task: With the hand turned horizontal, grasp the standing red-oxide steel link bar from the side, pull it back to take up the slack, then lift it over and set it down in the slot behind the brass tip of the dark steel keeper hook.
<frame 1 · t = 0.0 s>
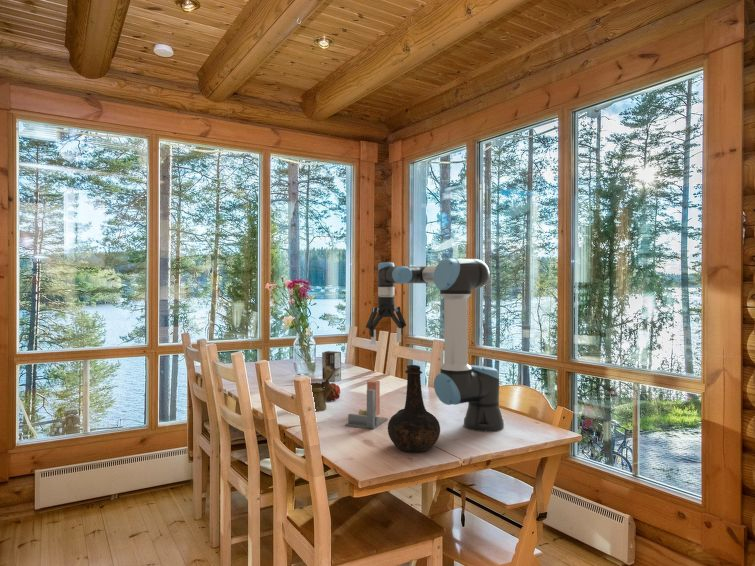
hand: (386, 343, 236), 28 cm above the table, tool pointing down, fingers open, 13 cm apart
link bar: (373, 414, 220), on the table
keeper: (366, 422, 207), on the table
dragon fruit: (331, 399, 247), on the table
coffee box: (331, 380, 294), on the table
glass bottle: (413, 448, 176), on the table
brass mortar and pestle: (320, 409, 229), on the table
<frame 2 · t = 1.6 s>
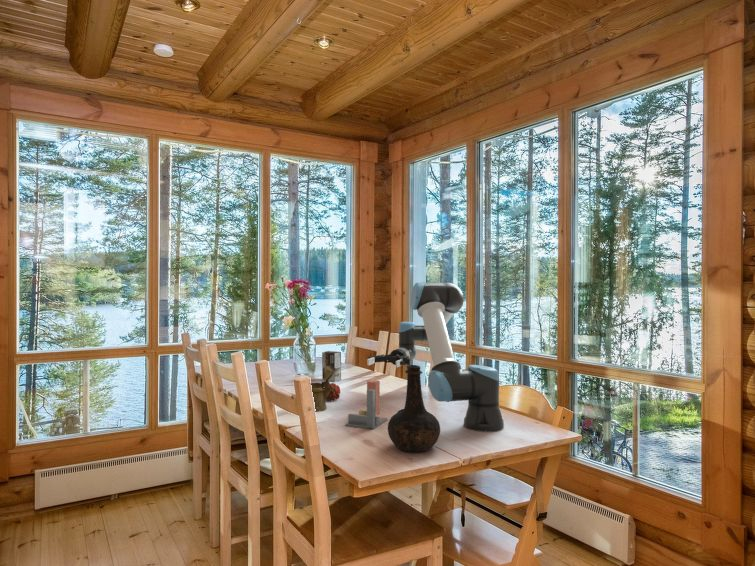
hand: (382, 363, 229), 20 cm above the table, tool horizontal, fingers open, 13 cm apart
nothing on the table moved.
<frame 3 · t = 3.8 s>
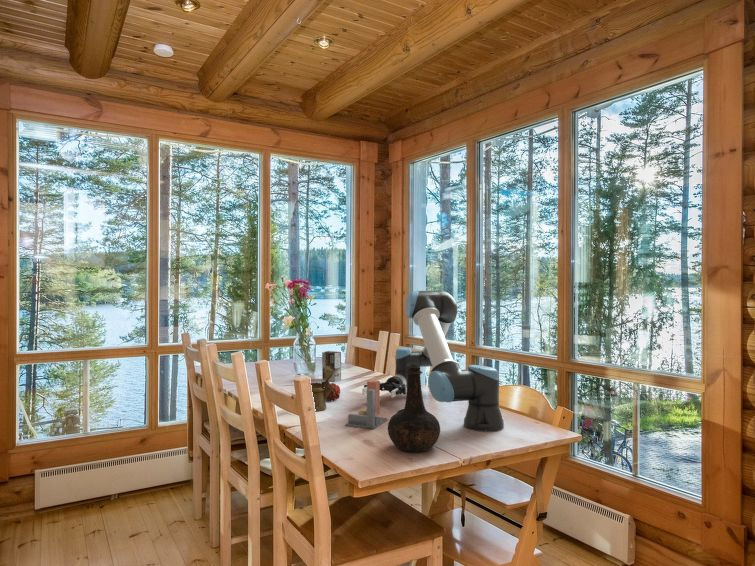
hand: (377, 393, 225), 8 cm above the table, tool horizontal, fingers open, 13 cm apart
nothing on the table moved.
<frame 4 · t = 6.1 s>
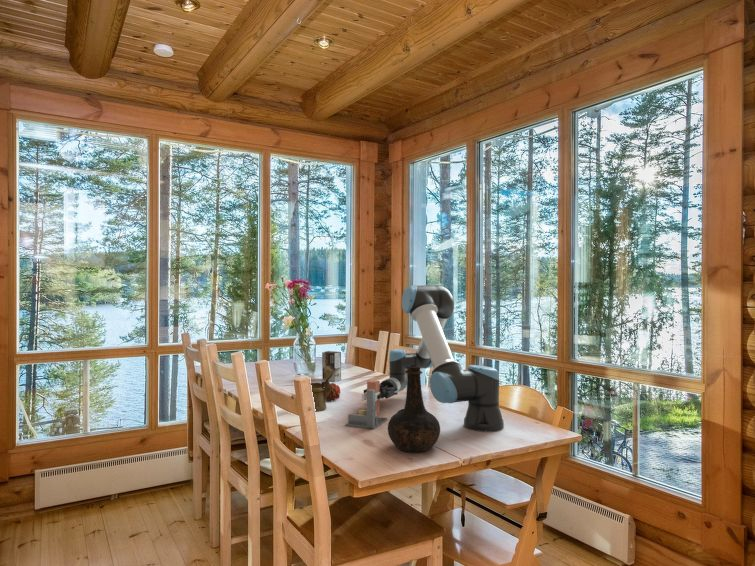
hand: (368, 398, 215), 8 cm above the table, tool horizontal, fingers closed on link bar, 4 cm apart
link bar: (373, 414, 220), on the table, touching gripper
everything else where it was.
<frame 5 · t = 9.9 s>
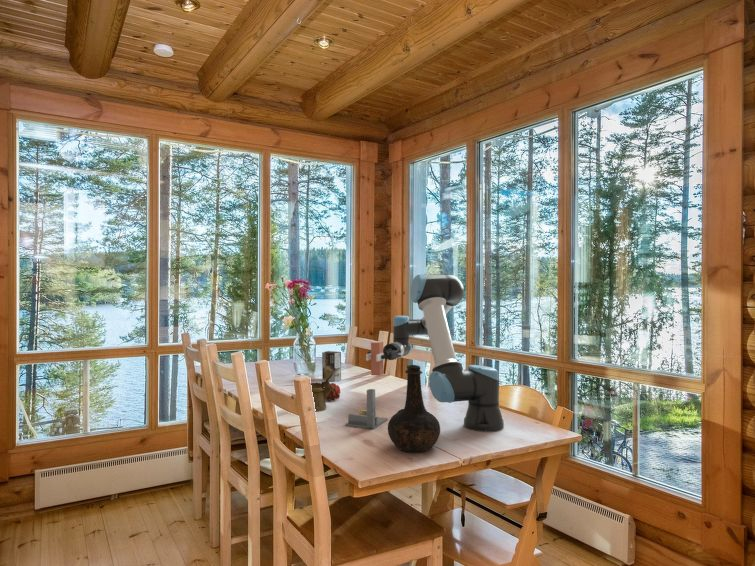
hand: (371, 357, 220), 24 cm above the table, tool horizontal, fingers closed on link bar, 4 cm apart
link bar: (377, 374, 225), point 16 cm above the table, touching gripper
everything else where it was.
when the fingers open (10 cm above the table, at t = 13.9 s): link bar drops 1 cm, resting on keeper.
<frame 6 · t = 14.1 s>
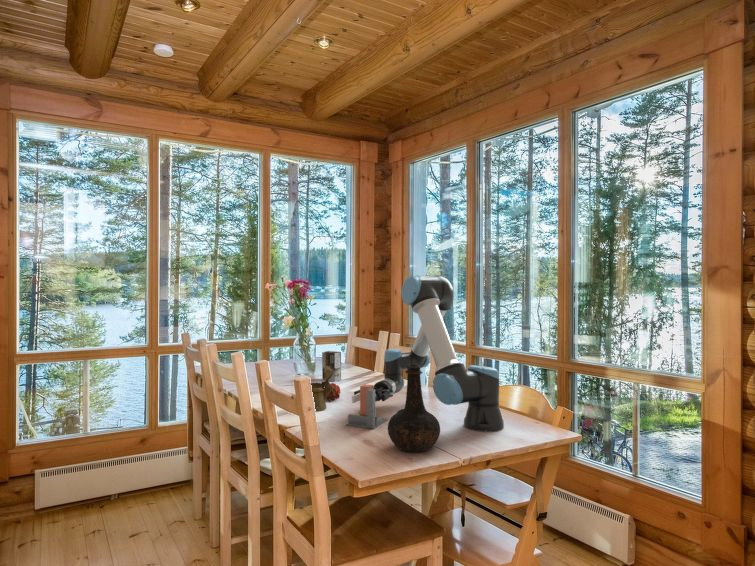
hand: (360, 400, 202), 10 cm above the table, tool horizontal, fingers open, 6 cm apart
link bar: (366, 420, 207), point 1 cm above the table, touching keeper
everything else where it was.
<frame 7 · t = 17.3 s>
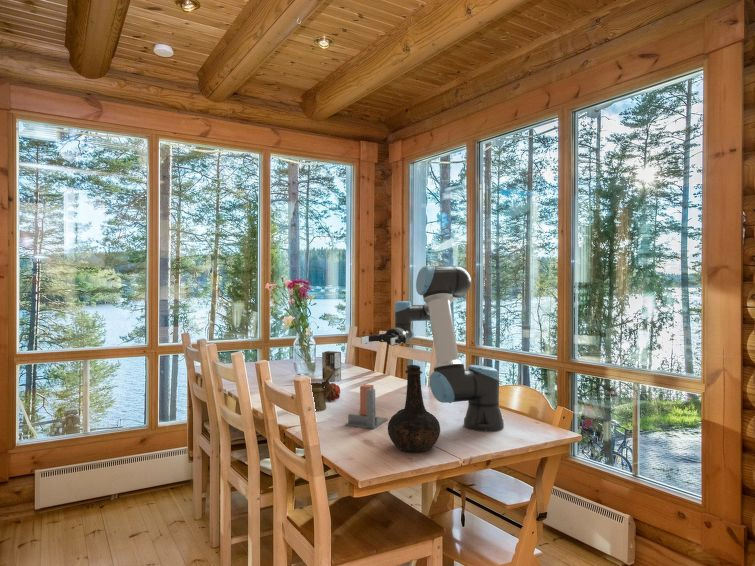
hand: (376, 341, 216), 31 cm above the table, tool horizontal, fingers open, 13 cm apart
nothing on the table moved.
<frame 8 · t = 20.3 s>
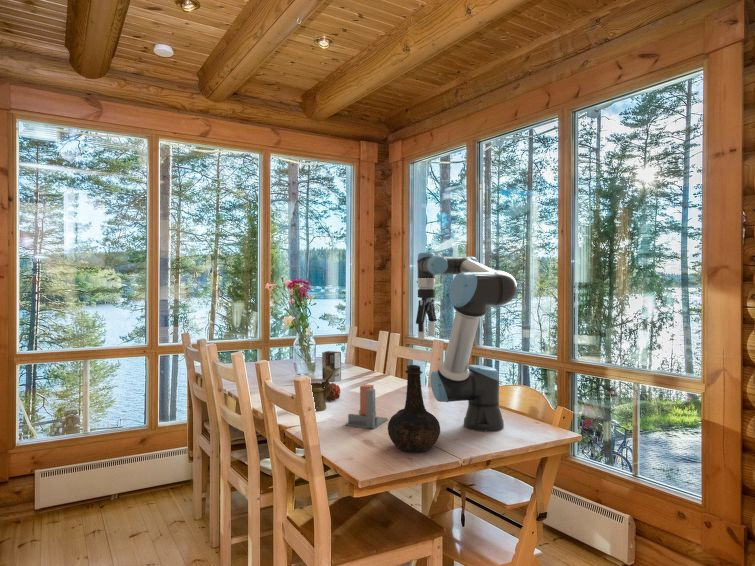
hand: (426, 337, 224), 32 cm above the table, tool pointing down, fingers open, 13 cm apart
nothing on the table moved.
at the end: link bar 0.0 cm from the keeper (horizontally); link bar tilted 0°; the gripper is holding nothing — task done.
